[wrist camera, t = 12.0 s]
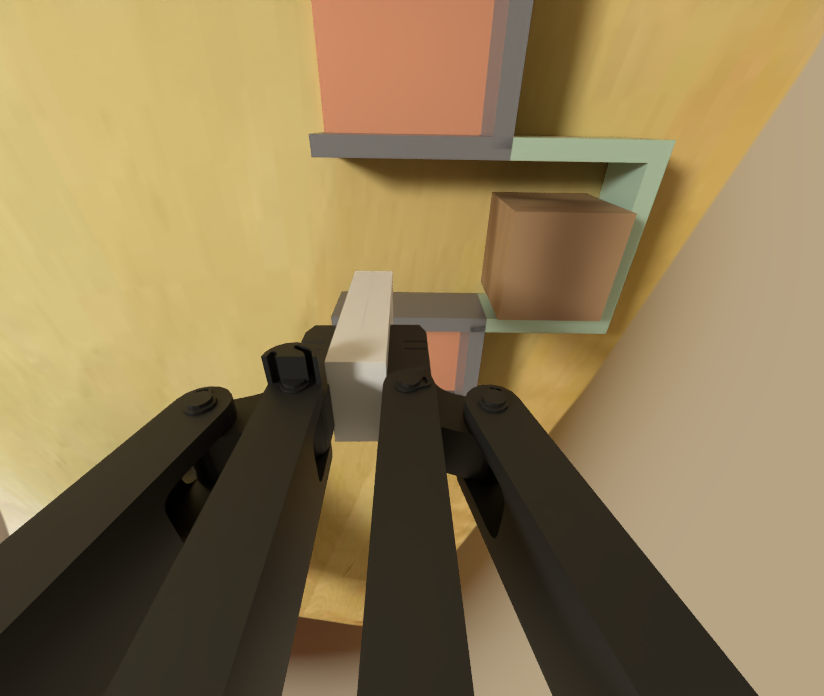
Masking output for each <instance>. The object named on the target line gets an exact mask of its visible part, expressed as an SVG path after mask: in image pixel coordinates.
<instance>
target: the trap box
mask: <svg viewBox="0 0 824 696" xmlns="http://www.w3.org/2000/svg"><path fill="white" fill-rule="evenodd" d="M533 1H534V0H311V2H312V12H313V22H314V32H315V42H316V51H317V61H318V71H319V81H320V91H321V101H322V111H323V120H324V130H325V132H323V133H313V134H309V140H310V148H311V156H312V157H331V158H390V159H449V160H509V161H568V162H609V163H608V167H607V171H606V174H605V178H604V181H603V185H602V188H601V192H600V195H599V199H602V200H604V201H607V202H609V203H612V204H614V205H617V206H619V207H622V208H624V209H627V210H629V211H632V212H634V213H637V215H636V218H635V221H634V224H633V227H632V230H631V233H630V236H629V238H628V241H627V244H626V247H625V250H624V253H623V256H622V259H621V262H620V265H619V268H618V270H617V273H616V276H615V279H614V282H613V285H612V288H611V291H610V294H609V297H608V300H607V302H606V305H605V308H604V311H603V314H602V317H601V320H600V321H547V320H498V319H497V317H496V315H495V312H494V310H493V308H492V306H491V303H490V301H489V299H488V296H487V294H482V293H410V292H393V325H420V326H421V327H422V328H423V329H424V330H425V331H426V333H427V342H428V351H429V359H430V368H431V376H432V378H433V380H434V382H435V384H436V385H438V386H439V387H440V388H441V389H443V390H445V391H447V392H451V393H454V394H458V395H462V396H466V395H467V392H468V391H470V390H471V389H472V388H474V387H477V384H478V377H479V370H480V363H481V356H482V349H483V343H484V336H485V332H505V333H582V334H606V332H607V330H608V327H609V324H610V321H611V319H612V316H613V313H614V310H615V308H616V305H617V302H618V299H619V296H620V294H621V291H622V288H623V285H624V283H625V280H626V277H627V274H628V272H629V269H630V266H631V263H632V261H633V258H634V255H635V252H636V249H637V247H638V244H639V241H640V238H641V236H642V233H643V230H644V227H645V225H646V222H647V219H648V216H649V214H650V211H651V208H652V205H653V202H654V200H655V197H656V194H657V191H658V189H659V186H660V183H661V180H662V178H663V175H664V172H665V169H666V167H667V164H668V161H669V158H670V155H671V153H672V150H673V147H674V144H675V142H676V140H664V139H647V138H627V137H570V136H514V131H515V124H516V117H517V111H518V104H519V97H520V90H521V83H522V76H523V70H524V63H525V56H526V49H527V42H528V36H529V29H530V22H531V15H532V8H533ZM347 294H348V292H341V295H340V297H339V299H338V302H337V304H336V306H335V309H334V311H333V314H332V316H331V319H332V325H337V323H338V320H339V317H340V315H341V312H342V309H343V306H344V303H345V300H346V297H347Z"/></svg>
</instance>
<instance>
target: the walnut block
mask: <svg viewBox="0 0 824 696" xmlns="http://www.w3.org/2000/svg"><path fill="white" fill-rule="evenodd" d="M636 215H637V213H634V212H632V211H629V210H627V209H624V208H622V207H619V206H617V205H614V204H612V203H609V202H607V201H604V200H602V199H599V198H597V197H594V196H592V195H589V194H587V193H522V192H492V198H491V206H490V214H489V222H488V230H487V238H486V246H485V253H484V261H483V269H482V277H481V283H482V285H483V287H484V290H485V292H486V294H487V296H488V299H489V301H490V303H491V306H492V308H493V310H494V312H495V315H496V317H497V319H498V320H547V321H600V320H601V317H602V314H603V311H604V308H605V305H606V302H607V300H608V297H609V294H610V291H611V288H612V285H613V282H614V279H615V276H616V273H617V270H618V268H619V265H620V262H621V259H622V256H623V253H624V250H625V247H626V244H627V241H628V238H629V236H630V233H631V230H632V227H633V224H634V221H635V218H636Z"/></svg>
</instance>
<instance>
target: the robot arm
mask: <svg viewBox="0 0 824 696" xmlns="http://www.w3.org/2000/svg"><path fill="white" fill-rule="evenodd" d="M261 358H262V362H263V366H264V370H265V374H266V378H267V382H268V385H267V387H266V389H265V391H264V393H261V394H257V395H254V396H249V397H244V398H239V399H234V400H233V397H232V394H231V393H230V392H229V390H228V389H225V388H222V387H204V388H199V389H196V390H193V391H191V392H188V393H186V394H184V395H183V396H181V397H180V398H178V399H176V400H175V401H174V402H173V403H172V404H170V405H169V406H168V407H167V408H165V409H164V410H163V411H162V412H161V413H159V414H158V415H157V416H156V417H154V418H153V419H152V420H151V421H150V422H148V423H147V424H146V425H145V426H143V427H142V428H141V429H140V430H139V431H137V432H136V433H135V434H134V435H132V436H131V437H130V438H129V439H128V440H126V441H125V442H124V443H123V444H121V445H120V446H119V447H118V448H117V449H115V450H114V451H113V452H112V453H111V454H109V455H108V456H107V457H106V458H104V459H103V460H102V461H101V462H100V463H98V464H97V465H96V466H95V467H93V468H92V469H91V470H90V471H89V472H87V473H86V474H85V475H84V476H82V477H81V478H80V479H79V480H78V481H76V482H75V483H74V484H73V485H71V486H70V487H69V488H68V489H67V490H65V491H64V492H63V493H62V494H60V495H59V496H58V497H57V498H56V499H54V500H53V501H52V502H51V503H49V504H48V505H47V506H46V507H45V508H43V509H42V510H41V511H40V512H38V513H37V514H36V515H35V516H34V517H32V518H31V519H30V520H29V521H27V522H26V523H25V524H24V525H23V526H21V527H20V528H19V529H18V530H17V531H15V532H14V533H13V534H12V535H10V536H9V537H8V538H7V539H6V540H5V541H3V542H2V543H1V544H0V696H282V691H283V686H284V682H285V677H286V672H287V667H288V663H289V658H290V654H291V649H292V644H293V639H294V635H295V630H296V625H297V621H298V616H299V611H300V607H301V602H302V597H303V592H304V588H305V583H306V578H307V574H308V569H309V564H310V560H311V555H312V550H313V545H314V541H315V536H316V531H317V527H318V522H319V517H320V513H321V508H322V503H323V498H324V494H325V489H326V484H327V480H328V475H329V470H330V465H331V461H332V446H331V439H332V435H333V430H334V435H335V441H378V449H377V461H376V473H375V485H374V497H373V509H372V522H371V534H370V546H369V558H368V570H367V582H366V594H365V606H364V618H363V631H362V642H361V654H360V666H359V679H358V690H357V696H474V691H473V682H472V674H471V666H470V659H469V650H468V642H467V634H466V626H465V618H464V610H463V602H462V594H461V586H460V578H459V570H458V562H457V554H456V546H455V537H454V529H453V521H452V513H451V505H450V497H449V489H448V481H447V473H449V474H452V475H456V476H457V480H458V483H459V485H460V487H461V490H462V492H463V494H464V496H465V499H466V501H467V503H468V505H469V508H470V510H471V512H472V514H473V517H474V519H475V521H476V524H477V526H478V528H479V530H480V532H481V535H482V537H483V539H484V542H485V544H486V546H487V548H488V551H489V553H490V555H491V557H492V560H493V562H494V564H495V566H496V569H497V571H498V573H499V575H500V578H501V580H502V582H503V585H504V587H505V589H506V591H507V593H508V596H509V598H510V600H511V602H512V605H513V607H514V610H515V612H516V614H517V616H518V618H519V621H520V623H521V625H522V628H523V630H524V632H525V634H526V637H527V639H528V641H529V643H530V646H531V648H532V650H533V653H534V655H535V657H536V659H537V662H538V664H539V666H540V668H541V670H542V673H543V675H544V677H545V680H546V682H547V684H548V686H549V689H550V691H551V693H552V696H758V694H757V693H756V692H755V691H754V689H753V688H752V687H751V686H750V684H749V683H748V682H747V681H746V679H745V678H744V677H743V676H742V674H741V673H740V672H739V671H738V669H737V668H736V667H735V666H734V665H733V663H732V662H731V661H730V660H729V659H728V657H727V656H726V655H725V653H724V652H723V651H722V650H721V649H720V647H719V646H718V645H717V643H716V642H715V641H714V640H713V638H712V637H711V636H710V635H709V634H708V632H707V631H706V630H705V629H704V627H703V626H702V625H701V624H700V622H699V621H698V620H697V619H696V618H695V616H694V615H693V614H692V612H691V611H690V610H689V609H688V607H687V606H686V605H685V604H684V602H683V601H682V600H681V599H680V598H679V596H678V595H677V594H676V593H675V592H674V590H673V589H672V588H671V586H670V585H669V584H668V583H667V581H666V580H665V579H664V578H663V576H662V575H661V574H660V573H659V572H658V570H657V569H656V568H655V566H654V565H653V564H652V563H651V562H650V560H649V559H648V558H647V557H646V555H645V554H644V553H643V552H642V550H641V549H640V548H639V547H638V546H637V544H636V543H635V542H634V541H633V539H632V538H631V537H630V536H629V534H628V533H627V532H626V531H625V529H624V528H623V527H622V525H621V524H620V523H619V522H618V521H617V519H616V518H615V517H614V516H613V515H612V513H611V512H610V511H609V509H608V508H607V507H606V506H605V505H604V503H603V502H602V501H601V499H600V498H599V497H598V496H597V495H596V493H595V492H594V491H593V490H592V488H591V487H590V486H589V485H588V483H587V482H586V481H585V480H584V478H583V477H582V476H581V475H580V473H579V472H578V471H577V470H576V468H575V467H574V466H573V465H572V464H571V462H570V461H569V460H568V459H567V457H566V456H565V455H564V454H563V452H562V451H561V450H560V449H559V447H558V446H557V445H556V444H555V443H554V441H553V440H552V439H551V437H550V436H549V435H548V434H547V432H546V431H545V430H544V429H543V427H542V426H541V425H540V424H539V422H538V421H537V420H536V419H535V418H534V416H533V415H532V414H531V413H530V411H529V410H528V409H527V408H526V406H525V405H524V404H523V403H522V401H521V400H520V399H519V398H518V397H517V396H516V395H515V394H514V393H513V392H512V391H510V390H507V389H505V388H503V387H500V386H495V385H480V386H477V387H474V388H472V389H471V390H470V391H468V392H467V395H466V396H462V395H458V394H454V393H451V392H447V391H445V390H443V389H441V388H440V387H439V386H438V385H436V384H435V382H434V380H433V378H432V376H431V368H430V359H429V351H428V342H427V333H426V331H425V330H424V329H423V328H422V327H421V326H420V325H393V271H355V273H354V276H353V279H352V282H351V285H350V288H349V291H348V294H347V297H346V300H345V303H344V306H343V309H342V312H341V315H340V317H339V320H338V323H337V325H315V326H314V327H313V328H311V329H310V330H309V331H307V332H306V333H305V335H304V337H303V339H302V343H298V342H295V343H285V344H282V345H278V346H275V347H273V348H271V349H269V350H268V351H266V352H265V353H264V354H263V355H262V356H261Z"/></svg>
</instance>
